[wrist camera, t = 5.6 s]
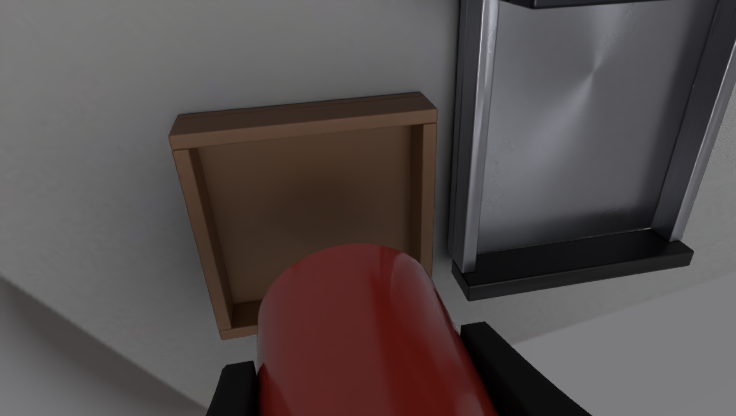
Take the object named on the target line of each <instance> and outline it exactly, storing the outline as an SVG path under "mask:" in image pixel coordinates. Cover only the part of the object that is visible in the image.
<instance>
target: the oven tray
mask: <svg viewBox="0 0 736 416" xmlns="http://www.w3.org/2000/svg"><path fill="white" fill-rule="evenodd" d="M735 82H736V0H665V1H651V2H637V3H623V4H609V5H595V6H581V7H567V8H554V9H540V10H532V9H528V8H524V7H521V6H517V5H513V4H511V3H506V2H503V1H499V0H461V16H460V34H459V53H458V71H457V89H456V108H455V126H454V145H453V163H452V181H451V200H450V218H449V236H448V251H449V252H450V254H451V256H453V259H452V274H453V276H454V277H455V279H456V281H457V283H458V284H459V286H460V288H461V290H462V291H463V293H464V295H465V297H466V299H467V300H468V301H475V300H481V299H487V298H493V297H499V296H506V295H512V294H518V293H524V292H530V291H536V290H542V289H549V288H555V287H561V286H567V285H573V284H579V283H585V282H592V281H598V280H604V279H610V278H616V277H622V276H629V275H635V274H641V273H647V272H653V271H659V270H665V269H672V268H678V267H684V266H688V265H690V262H691V259H692V256H693V254H694V251H693V250H692V249H691V248H689V247H688V246H686V245H685V244H684V243H682V242H681V241H680V240H681V238H682V236H683V233H684V230H685V227H686V224H687V221H688V218H689V215H690V212H691V209H692V207H693V204H694V201H695V198H696V195H697V192H698V189H699V186H700V183H701V180H702V178H703V175H704V172H705V169H706V166H707V163H708V160H709V157H710V154H711V151H712V148H713V146H714V143H715V140H716V137H717V134H718V131H719V128H720V125H721V122H722V119H723V117H724V114H725V111H726V108H727V105H728V102H729V99H730V96H731V93H732V90H733V87H734V85H735ZM650 227H651V229H647V230H640V231H633V232H626V233H620V234H613V235H606V236H599V237H593V238H586V239H579V240H572V241H566V242H559V243H552V244H545V245H539V246H532V247H525V248H518V249H512V250H505V251H498V252H491V253H485V254H478V255H477V253H481V252H487V251H494V250H501V249H508V248H514V247H521V246H528V245H535V244H542V243H548V242H555V241H562V240H569V239H575V238H582V237H589V236H596V235H602V234H609V233H616V232H623V231H630V230H636V229H643V228H650Z"/></svg>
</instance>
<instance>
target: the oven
mask: <svg viewBox="0 0 736 416" xmlns="http://www.w3.org/2000/svg"><path fill="white" fill-rule="evenodd" d="M499 1H503V2H506V3H511V4H513V5H517V6H521V7H524V8H528V9H532V10H540V9H554V8H567V7H581V6H595V5H609V4H623V3H637V2H651V1H665V0H499Z"/></svg>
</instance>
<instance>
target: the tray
mask: <svg viewBox="0 0 736 416" xmlns="http://www.w3.org/2000/svg"><path fill="white" fill-rule="evenodd" d="M437 111H438V110H437V108H436V107H435V106H434V105H433V104H432V103H431V102H430V101H429V100H428V99H427V98H426V97H425V96H424V95H423V94H422V93H421V92H416V93H406V94H395V95H385V96H374V97H364V98H353V99H342V100H332V101H321V102H311V103H300V104H290V105H279V106H269V107H258V108H247V109H237V110H226V111H216V112H205V113H195V114H184V115H178V116H177V119H176V121H175V123H174V125H173V127H172V129H171V131H170V134H169V136H168V137H169V141H170V145H171V149H172V150H173V151H172V153H173V157H174V161H175V165H176V168H177V172H178V176H179V180H180V184H181V188H182V191H183V195H184V199H185V203H186V207H187V211H188V214H189V218H190V222H191V226H192V230H193V234H194V237H195V241H196V245H197V249H198V253H199V257H200V260H201V264H202V268H203V272H204V276H205V280H206V283H207V287H208V291H209V295H210V299H211V303H212V306H213V310H214V314H215V318H216V322H217V326H218V329H219V333H220V337H221V339H222V340H226V339H232V338H238V337H244V336H250V335H256V334H257V320H258V313H259V308H260V305H261V303H262V300H263V298H264V296H265V294H266V292H267V291H268V289H269V288H270V286H271V285H272V284H273V282H274V281H275V280H276V279H277V277H278V276H280V275H281V274H282V273H283V272H284V271H285V270H286V269H287V268H288V267H290V266H291V265H292V264H294V263H295V262H297V261H298V260H300V259H302V258H304V257H305V256H307V255H309V254H312V253H314V252H316V251H319V250H321V249H325V248H328V247H331V246H336V245H341V244H349V243H372V244H379V245H384V246H388V247H391V248H394V249H397V250H399V251H401V252H404V253H405V254H407V255H409V256H410V257H412V258H414V259H415V260H416V261H417V262H418V263H420V264H421V265H422V266H423V268H424V269H425V270H426V271H427V272H428V274H429V275H430V277H431V279H432V255H433V227H434V198H435V170H436V142H437V123H436V122H437Z"/></svg>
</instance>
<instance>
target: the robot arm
mask: <svg viewBox="0 0 736 416" xmlns="http://www.w3.org/2000/svg"><path fill="white" fill-rule="evenodd" d="M460 337H461V339H462V341H463V343H464V345H465V347H466V349H467V351H468V353H469V355H470V357H471V359H472V361H473V363H474V365H475V367H476V369H477V371H478V373H479V375H480V377H481V379H482V381H483V383H484V385H485V387H486V389H487V391H488V393H489V396H490V398H491V400H492V402H493V404H494V406H495V408H496V410H497V412H498V414H499V416H592V415H590V414H589V413H588V412H587V411H585V410H584V409H583V408H582V407H580V406H579V405H578V404H577V403H575V402H574V401H573V400H572V399H570V398H569V397H568V396H567V395H566V394H564V393H563V392H562V391H561V390H559V389H558V388H557V387H556V386H555V385H554V384H553V383H551V382H550V381H549V380H548V379H547V378H546V377H544V376H543V375H542V374H541V373H540V372H539V371H538V370H536V369H535V368H534V367H533V366H532V365H531V364H530V363H529V362H528V361H527V360H525V359H524V358H523V357H522V356H521V355H520V354H519V353H518V352H517V351H516V350H515V349H514V348H512V347H511V346H510V345H509V344H508V343H507V342H506V341H505V340H504V339H503V338H502V337H501V336H500V335H499V334H498V333H497V332H496V331H495V330H494V329H492V328H491V327H490V326H489V325H488V324H487V323H486V322H485V321H484V322H478V323H472V324H467V325H461V332H460ZM256 400H257V375H256V370H255V366H254V361H247V362H242V363H236V364H230V365H226V366H225V367H224V368H223V369H222V372H221V376H220V379H219V382H218V385H217V388H216V391H215V393H214V396H213V399H212V401H211V404H210V407H209V409H208V412H207V414H206V416H256Z"/></svg>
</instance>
